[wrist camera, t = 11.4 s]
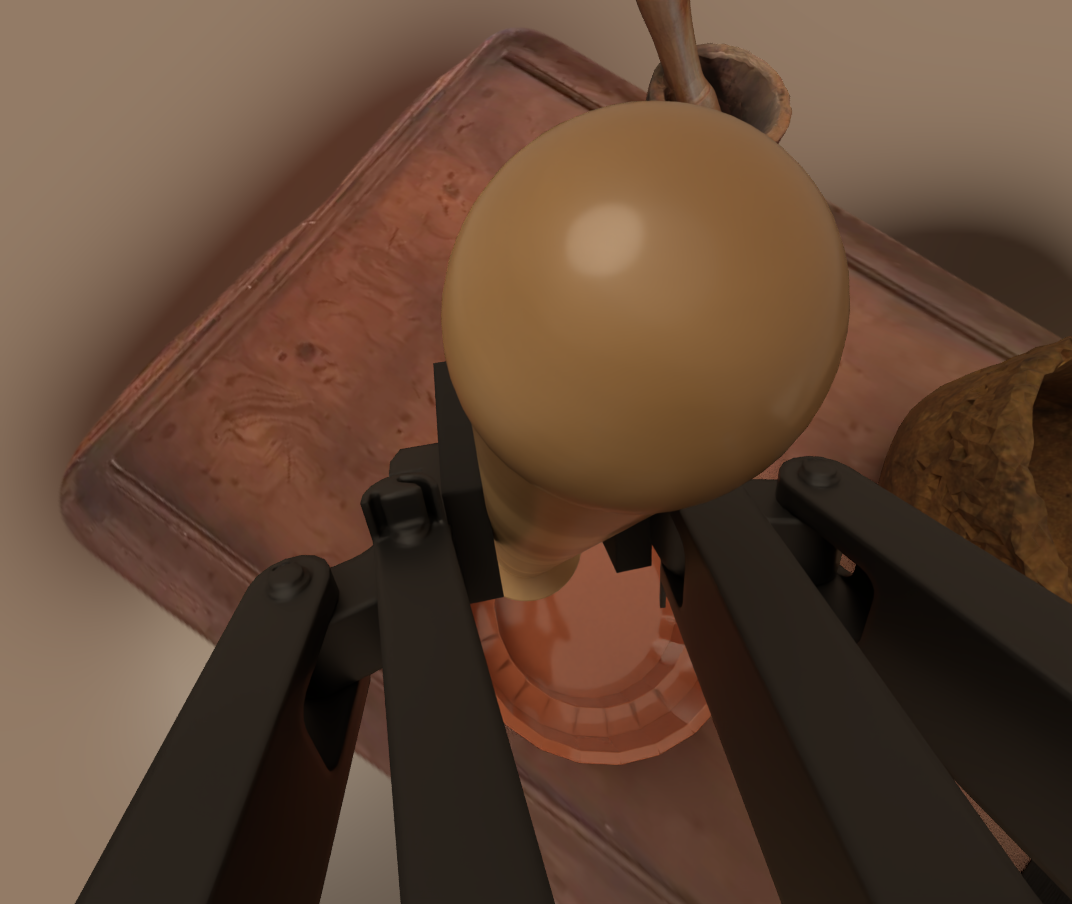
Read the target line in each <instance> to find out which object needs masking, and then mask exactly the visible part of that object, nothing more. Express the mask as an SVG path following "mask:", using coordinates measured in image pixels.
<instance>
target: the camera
mask: <svg viewBox="0 0 1072 904" xmlns="http://www.w3.org/2000/svg"><path fill="white" fill-rule="evenodd" d="M1022 876H1023V878H1024V879H1025V880H1026V882H1027V883H1028V885H1029V886H1030V887H1031V889H1032V890H1033V892H1034V893H1035V894H1036V895H1037V897H1038V898H1039V899H1040V900H1041V901H1042V903H1043V904H1072V900H1071V899H1070V898H1069V897H1068V896H1067V895H1066V894H1065V893H1064V892H1063V891H1062V890H1061V889H1060V888H1059V887H1058V886H1057V885H1056V884H1055V883H1054V882H1053V881H1052V880H1051V879H1050V878H1049V877H1048V876H1047V874H1046V873H1045V872H1044V871H1043V870H1042V869H1041V868H1040V867H1039V866H1038V865H1037V864H1036V863H1035V862H1034V861H1033V860H1031V862H1030V863H1029V865H1028V866H1027V868H1026V869H1025V870H1024V872H1023V873H1022Z"/></svg>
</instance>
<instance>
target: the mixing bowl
mask: <svg viewBox="0 0 1072 904" xmlns="http://www.w3.org/2000/svg"><path fill="white" fill-rule="evenodd" d="M660 561H661V559H660V558H659V556H658V554H657V552H656V551H655V549H654V547H653V546H652V566H649V567H644V568H639V569H634V570H630V571H625V572H620V573H616V571H615V568H614V566H613V564H612V562H611V560H610V558H609V555H608V553H607V551H606V549H605V547H604V545H603V542H601V543H599V544H597V545H595V546H594V547H592V548H590V549H588V550H586V551H584V552H582V553H581V556H580V560H579V563H578V566H577V569H576V570H575V572H574V574H573V576H572V577H571V579H570V580H569V581H568V582H567V583H566V585H565V586H564V587H562V588H561V589H560V590H559V591H557V592H556V593H554V594H552V595H551V596H548V597H546V598H543V599H540V600H535V601H516V600H512V599H508V598H506V597H502V598H497V599H492V600H487V601H483V602H478V603H473V604H470V606H471V609H472V613H473V616H474V620H475V623H476V627H477V630H478V634H479V637H480V641H481V644H482V648H483V651H484V655H485V658H486V662H487V666H488V669H489V673H490V676H491V680H492V683H493V687H494V690H495V694H496V697H497V701H498V704H499V708H500V711H501V715H502V718H503V722H504V723H505V724H506V725H507V726H508V727H509V728H511V729H512V730H514V731H515V732H516V733H518V734H519V735H521V736H522V737H523V738H525V739H526V740H528V741H529V742H530V743H532V744H533V745H535V746H536V747H537V748H540V749H541V750H543V751H546V752H549V753H552V754H555V755H558V756H560V757H563V758H566V759H569V760H572V761H575V762H577V763H588V764H609V765H620V764H621V765H623V764H627V763H630V762H634V761H638V760H642V759H646V758H650V757H654V756H658V755H660V754H662V753H664V752H665V751H667V750H669V749H670V748H672V747H674V746H675V745H677V744H679V743H680V742H682V741H684V740H685V739H687V738H689V737H690V736H692V735H693V734H695V733H696V732H697V731H698V730H699V729H700V728H701V727H702V725H703V724H704V723H705V722H706V721H707V720H708V719H709V718H710V717H711V713H710V711H709V708H708V705H707V703H706V700H705V697H704V695H703V692H702V689H701V687H700V684H699V681H698V679H697V676H696V673H695V671H694V668H693V665H692V663H691V660H690V657H689V655H688V652H687V649H686V647H685V644H684V641H683V639H682V636H681V633H680V631H679V628H678V625H677V623H676V620H675V617H674V615H673V612H672V609H671V607H670V604H669V601H668V599H667V597H666V608H660V601H659V595H660Z"/></svg>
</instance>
